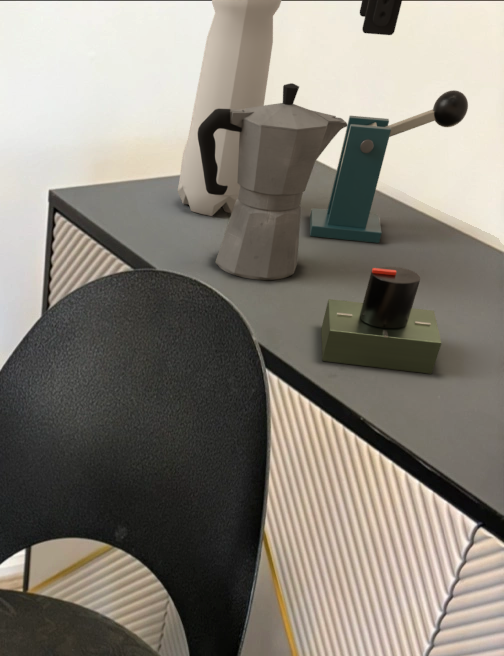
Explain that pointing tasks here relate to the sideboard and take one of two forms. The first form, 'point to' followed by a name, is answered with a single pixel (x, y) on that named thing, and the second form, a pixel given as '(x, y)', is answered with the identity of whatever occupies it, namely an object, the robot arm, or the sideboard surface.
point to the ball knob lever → (436, 113)
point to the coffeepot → (266, 181)
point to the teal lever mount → (355, 184)
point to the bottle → (227, 94)
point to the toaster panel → (379, 339)
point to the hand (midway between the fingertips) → (375, 25)
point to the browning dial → (389, 297)
